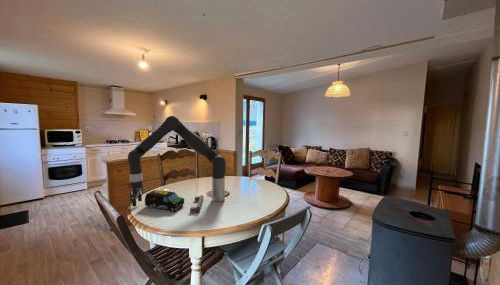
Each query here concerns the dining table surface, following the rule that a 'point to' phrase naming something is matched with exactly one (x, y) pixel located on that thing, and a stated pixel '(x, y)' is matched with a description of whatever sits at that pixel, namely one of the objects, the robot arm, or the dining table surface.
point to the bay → (199, 205)
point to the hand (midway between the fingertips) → (137, 203)
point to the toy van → (163, 200)
